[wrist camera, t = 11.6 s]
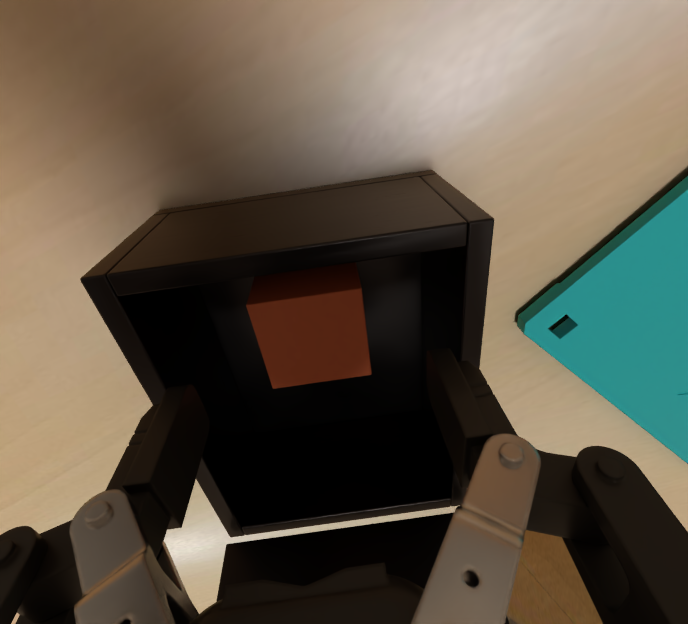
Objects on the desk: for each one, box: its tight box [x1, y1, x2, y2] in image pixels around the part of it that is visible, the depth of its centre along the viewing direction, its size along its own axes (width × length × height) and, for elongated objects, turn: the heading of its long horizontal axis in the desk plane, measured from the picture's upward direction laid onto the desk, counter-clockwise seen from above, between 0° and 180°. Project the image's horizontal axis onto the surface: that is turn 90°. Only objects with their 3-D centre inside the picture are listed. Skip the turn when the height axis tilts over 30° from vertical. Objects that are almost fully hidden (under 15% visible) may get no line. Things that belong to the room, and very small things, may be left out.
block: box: [246, 262, 371, 389], centre depth 17 cm, size 4×4×4 cm
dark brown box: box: [80, 170, 494, 537], centre depth 18 cm, size 16×13×7 cm
